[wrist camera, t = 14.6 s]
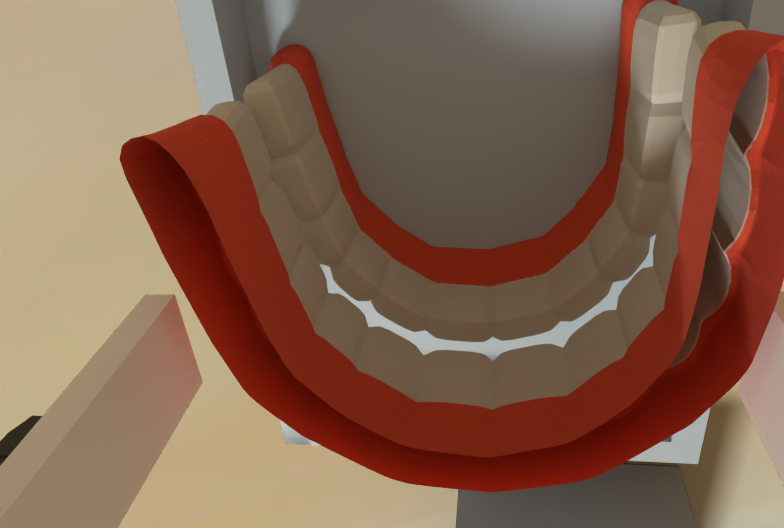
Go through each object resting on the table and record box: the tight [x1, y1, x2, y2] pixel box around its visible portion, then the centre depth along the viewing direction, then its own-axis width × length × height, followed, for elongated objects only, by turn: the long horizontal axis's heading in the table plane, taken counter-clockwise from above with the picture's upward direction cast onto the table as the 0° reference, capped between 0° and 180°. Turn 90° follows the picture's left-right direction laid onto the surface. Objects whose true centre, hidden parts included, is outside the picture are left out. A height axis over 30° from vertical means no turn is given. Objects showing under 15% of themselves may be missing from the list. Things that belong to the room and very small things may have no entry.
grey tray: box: [175, 0, 784, 464], centre depth 20 cm, size 16×20×3 cm
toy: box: [120, 0, 784, 492], centre depth 16 cm, size 12×10×8 cm
